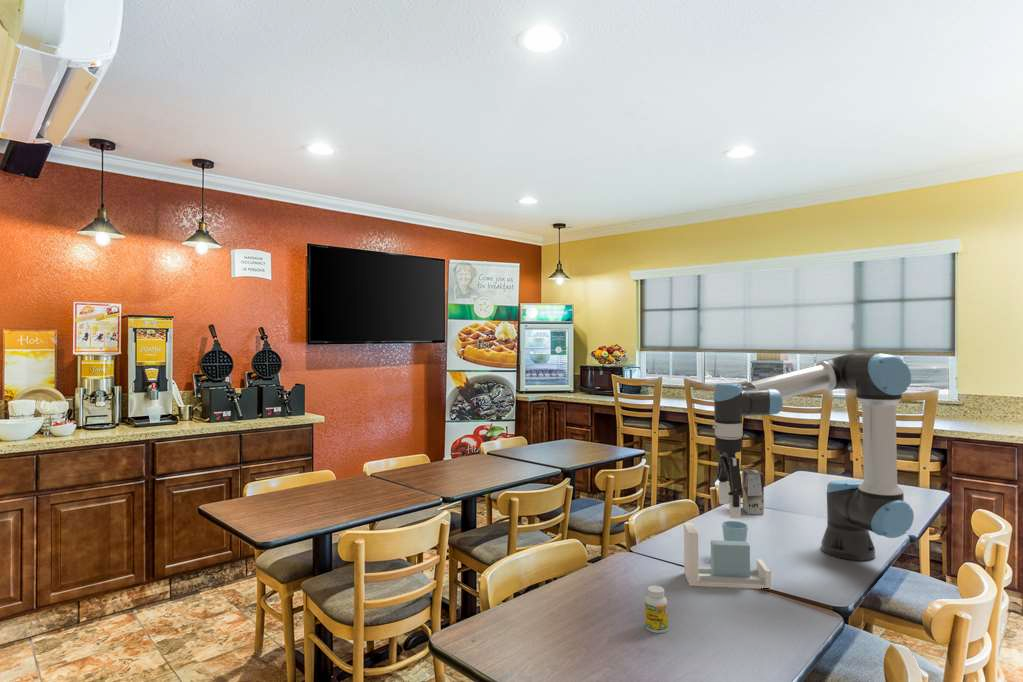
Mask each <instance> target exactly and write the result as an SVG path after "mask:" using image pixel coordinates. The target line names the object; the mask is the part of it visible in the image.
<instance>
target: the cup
mask: <svg viewBox="0 0 1023 682" xmlns="http://www.w3.org/2000/svg"><path fill="white" fill-rule="evenodd" d="M721 527H722V533H723V535H722V536H723V541H746V542H747V536H748V529H749V526H748V524H747V523H744V522H741V521H736V520H727V521H723V522H722V523H721Z"/></svg>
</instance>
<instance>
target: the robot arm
mask: <svg viewBox="0 0 1023 682" xmlns="http://www.w3.org/2000/svg"><path fill="white" fill-rule="evenodd" d="M911 373H912V372H911V370H910V368H909V365H908V364H907V363H906V362H905V361H904V360H903V359H902V358H901V357H899V356H896V355H894V354H889V353H888V354H887V353H865V352H864V353H862V352H856V353H855V352H854V353H847V354H844V355H843V354H842V355H840V356H835V357H831V358H829V359H826V360H822V361H821V360H820V361H818V362H817V363H816V364H815V365H814V366H810V367H806V368H802V369H798V370H793V371H789V372H785V373H783V374H777V375H773V376H769V377H765V378H759V379H758V380H753V381H748V382H744V383H736V382H720V383H719V382H718V383H717V384H715V385H714V391H713V401H714V402H713V404H714V405H713V407H714V409H713V410H714V413H713V414H714V425H712V429H713V430H714V435H715V436H716V437H714V450H715V451H716V452H718V462H717V471H716V472H717V473H716V477H717V478H718V479H717V480H718V503H719V505H729V518H730V519H741V517H742V516H741V515H742V512H741V510H742V508H741V504H742V502H741V497H742V496H743V488H742V476H741V475H742V474H741V468H740V458H738V457H737V456H736V453H741V452H742V451H743V446H744V444H743V443H744V442H743V439H742V437H743V434H744V433H743V432H744V431H743V417H744V416H745V417H747V416H748V417H749V416H771V415H778V414H779V413H781V411H782V410H783V406H784V401H783V400H784V399H788V398H792V397H796V396H800V395H803V394H804V395H805V394H808V393H811V392H815V391H819V390H824V391H827V392H828V391H833V390H842V389H843V390H853V391H854V390H855V393H856V396H855V398H856V400H858V401H859V402H860V403H861V413H862V414H861V415H862V416H861V417H862V423H861V424H862V460H863V461H862V462H863V468H862V470H863V481H862V480H854V479H853V480H852V479H837V480H831V481H830V482H828V483H827V487H826V488H827V489H826V515H827V517H826V518H827V519H826V521H827V522H826V523H827V524H826V528H825V531H824V533H823V537H822V539H821V541H820V542H821V546H820V548H821V550H822V551H823V552H824V553H826V554H828V555H830V556H832V557H835V558H839V559H844V560H848V561H849V560H851V561H870V560H873V559H874V558H876V548H875V545H874V543H873V540H872V537H871V534H870V532H872V533H874V534H876V535H877V536H881V537H885V538H888V539H897V538H900V537H903V536H904V535H905V534H906V533H907V531H909V530H910V529H911V527H912V525H913V524H914V520H915V518H914V517H915V516H914V514H915V513H914V509H913V507H911V505H910V504H909V503H908V502H906V501H905V500H904V493H905V492H904V490H903V489H902V488H901V487H900V486H899V485H898V466H897V465H898V460H897V459H898V457H897V456H898V455H897V450H898V449H897V446H898V445H897V411H896V409H897V408H896V407H897V404H898V403H899V402H901V401H902V399H903V397H902V395H903V393H905V392H906V391H907V390H908V387H910V386H911V381H912V374H911Z"/></svg>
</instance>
